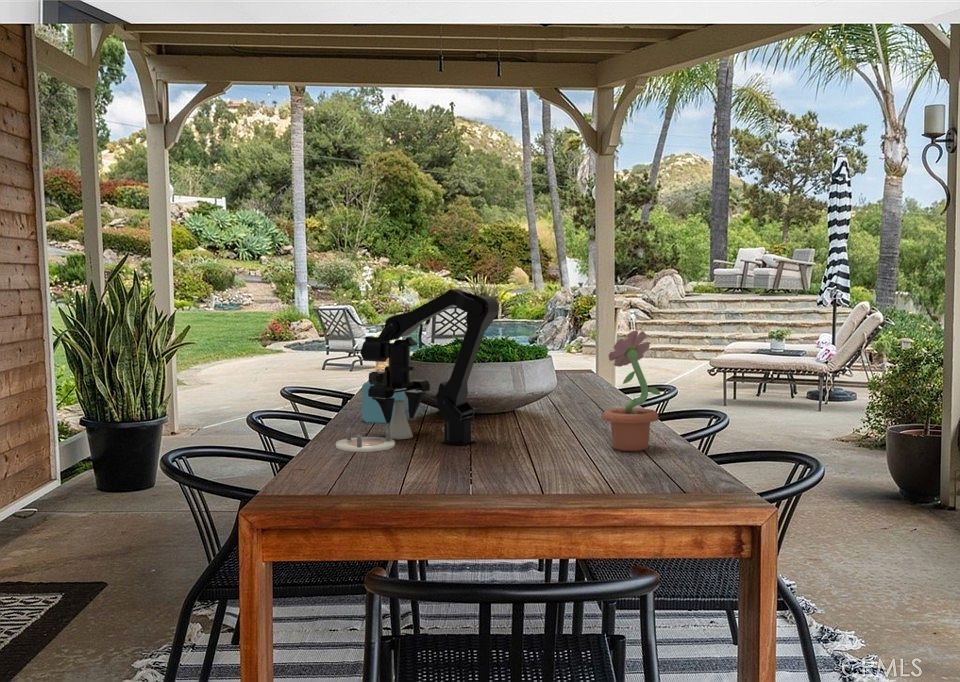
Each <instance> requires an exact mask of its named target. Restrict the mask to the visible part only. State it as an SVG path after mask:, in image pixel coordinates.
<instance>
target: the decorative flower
mask: <svg viewBox="0 0 960 682" xmlns="http://www.w3.org/2000/svg"><path fill="white" fill-rule="evenodd" d="M646 338H647V334H646V332H645V331H643V330H641V331H638V330H633V331H630V332H629V333H628V334H627V338H625V339H624V338H621V337H620V338H619V339H618V340H616V342H615V344H614V345H613V350H614V351H610V352H609V353H608V361H610V362H612V361H614V363H613V366H615V367H619V368H620V367H623V366H629V365H630V364H631V366H632V369H633V371H632V372H630V373H628V374H627V375H626V376H625V378H624V379H623V382H622V384H623V385H624V384H627V383H629V382H631V380H633V379H634V376H636V378H637V381H638V383H639V386H640V396H638V397H635V398H633V399H631V400H629V402H627V403H626V405H625V406H624V407H619V408H618V407H617V408H609V409H606V410H605V411H603V414H602V420H604V421H606V422H610V426H611V427H610V429H611V439H612V446H613V448H614V449H615V450H617V451H624V452H641V451H644V450H647V449H648V447H649V442H650V432H651V431H650V430H651V429H650V428H651V423H653V422H656V421H659V413H658V412H657V411H656V410H654V409H650V408H645V407H644V408H642V407H641V408H639V407H637V406H638V405H642V404H643V403H645V402H646V400H647V399H648V397H649V392H650V393H651V394H653V395H656V396H657V395H658V396H659V395H661V391H660V389H658V388H656V387H648V383H647V380H646V378H645V375H644V373H643V371H642V368H641V365H640V363H639V361H640V360H642V359H643V358H644V357H645V355H644V354H645V353H646V352H647V351H648V350H649V349H650V342H648V341H647V342H643V341H645V339H646ZM642 342H643V343H642Z"/></svg>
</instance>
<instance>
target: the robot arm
mask: <svg viewBox="0 0 960 682" xmlns="http://www.w3.org/2000/svg"><path fill="white" fill-rule="evenodd" d="M453 307H456V308H458V309H459V310H461V311H464V312H466V317H465V318H466V319H465V320H466V330H465V333H464V336H463V338H462V342H461V346H460V348H459V351H458V354H457V356H456V359H455V362H454V366H453V368H452V371H451V375H450V378H449V379H448V380H447V381H443V382H440V383H439V385H438V390H437V393H436V395H435V396H434V398H435V399H436V400H435V406H436V408H437V410H438V411H439V412H440V416H441V419H442V421H443V422H445V423H444V425H443V427H444V428H443V430H444V431H443V432H444V435H443V437H444V438H443V440H441V443H444V444H450V445H456V446H462V445H467V444H471V443H475V442H476V440H475V439H474V438H472V419H471V418H474V414H475V412H476V410H475V408H474V407H473V406H472V405H471V403H469V401H468V400H467V399H468V394H469V389H468V381H469V378H470V375H471V372H472V369H473V366H474V363H475V361H476V359H477V355H478V352H479V349H480V347H481V344H482V340H483V338H484V334H485V333H486V331H487V330H488V328H489V327H491V325H492V324H493V322H494V321H495V320H494V319H495V318H496V316H497V315H498V313H499V308H500V306H499V304H498V302H497V300H496V299H495V298H494V297H492V296H487V295H486V296H481V295H477V294H473V293H470V292H467V291H464V290H462V289H460V288H450V289H448V290H446V292H445V293H443V294H441V295H438V296H437V297H435V298H433V299H431V300H429V301H428V302H426V303H424V304H422V305H420V306H419V307H416V308H415V309H413V310H410V311H406V312H403V313H399V314H395V315H393V316H389V317H388V318H386V320H385V324H384V327H383V329H382V330H381V331H380V334H379V335H378V336H373V335H368V336H365V337H364V342H363V343H362V346H361V348H360V355H361V358H362V360H363V361H364V362H377V363H379V362H381V363H382V362H383V363H384V362H387V361H388V365H387V366H386V365H385V367H384V371H383V372H384V373H382V372H380V374H379V372H378V371H376V370H375V371H371V372H369V373H368V381H369V383H370V384H371V385H372V384H374V386H370V388H369V389H368V397H372V399H373V400H376V401H377V402H378V403H379V405H380V407H381V409H382V412H383V415H384V418H385V420H386V423H385V424H391V423H390V421H391V417H392V411H393V406H394V400H395V398H391V397H392V396H393V395H394V393H396V392H403V391H406V392H405V394H406V396H407V397H408V408H409V410H408V417H409V419H414V418H415V415H416V413H417V411H418V408H419V406H420V405H421V403H422V401H423V399H424V397H425V395H427V394H428V393H427V392H429V391H431V389H430V388H431V387H430V386H431V384H430V382H429V381H428V380H426V379H418V378H415V379H411V380H410V373H411V371H414V366H413V365H411V349H410V348H411V347H415V346H418V342H416V341H415V340H414V339H413V337H411V336H409V335H411V334H412V333H414V332H415V331H416V330H418V328H419V327H420V326H421V325H422V324H423V323H424V322H426V321H428V320H430V319H433V318H434V317H435V316H438V315H439V314H441V313H443V312H445V311H448V310H449V309H452V308H453ZM408 336H409V337H408ZM404 337H405V339H401V338H404ZM391 341H393V342H391Z"/></svg>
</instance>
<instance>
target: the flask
mask: <svg viewBox="0 0 960 682" xmlns="http://www.w3.org/2000/svg"><path fill="white" fill-rule="evenodd" d="M404 403H405V401H404V400H395V401H394V404H395V409H394V415H393V418H392V421H391V423H390V425H389V427H388V429H390V439H392V440H407V439H408V440H409V439H411V438H413V437H414V435H413V433H412V430H411V427H410V424H409V421H408V419H407V418H408V417H407V415H406V411H405V409H404Z"/></svg>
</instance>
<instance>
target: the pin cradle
mask: <svg viewBox="0 0 960 682" xmlns="http://www.w3.org/2000/svg"><path fill="white" fill-rule="evenodd" d="M345 429H346V431H345V432H346V438H344V439H340V440H337V441H336V442H335V449H336V450H339V451H343V452H350V453H373V452H381V451H387V450H390V449H394V448H395V447H396V440H395V439H390V429H389V428H385V437H381V436H362V434H357V435H356V437H352V427H346V428H345Z"/></svg>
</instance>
